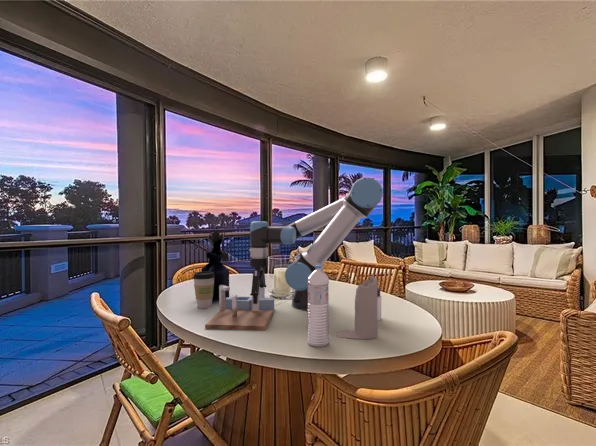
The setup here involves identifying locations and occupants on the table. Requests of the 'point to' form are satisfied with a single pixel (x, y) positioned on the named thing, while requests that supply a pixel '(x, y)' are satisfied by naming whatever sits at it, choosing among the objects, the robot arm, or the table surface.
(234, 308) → the pintle
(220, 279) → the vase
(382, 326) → the table surface
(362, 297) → the metal bookend
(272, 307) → the link
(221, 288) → the bracket
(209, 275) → the coffee cup
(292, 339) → the table surface
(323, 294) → the water bottle
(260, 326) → the board
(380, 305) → the jar
